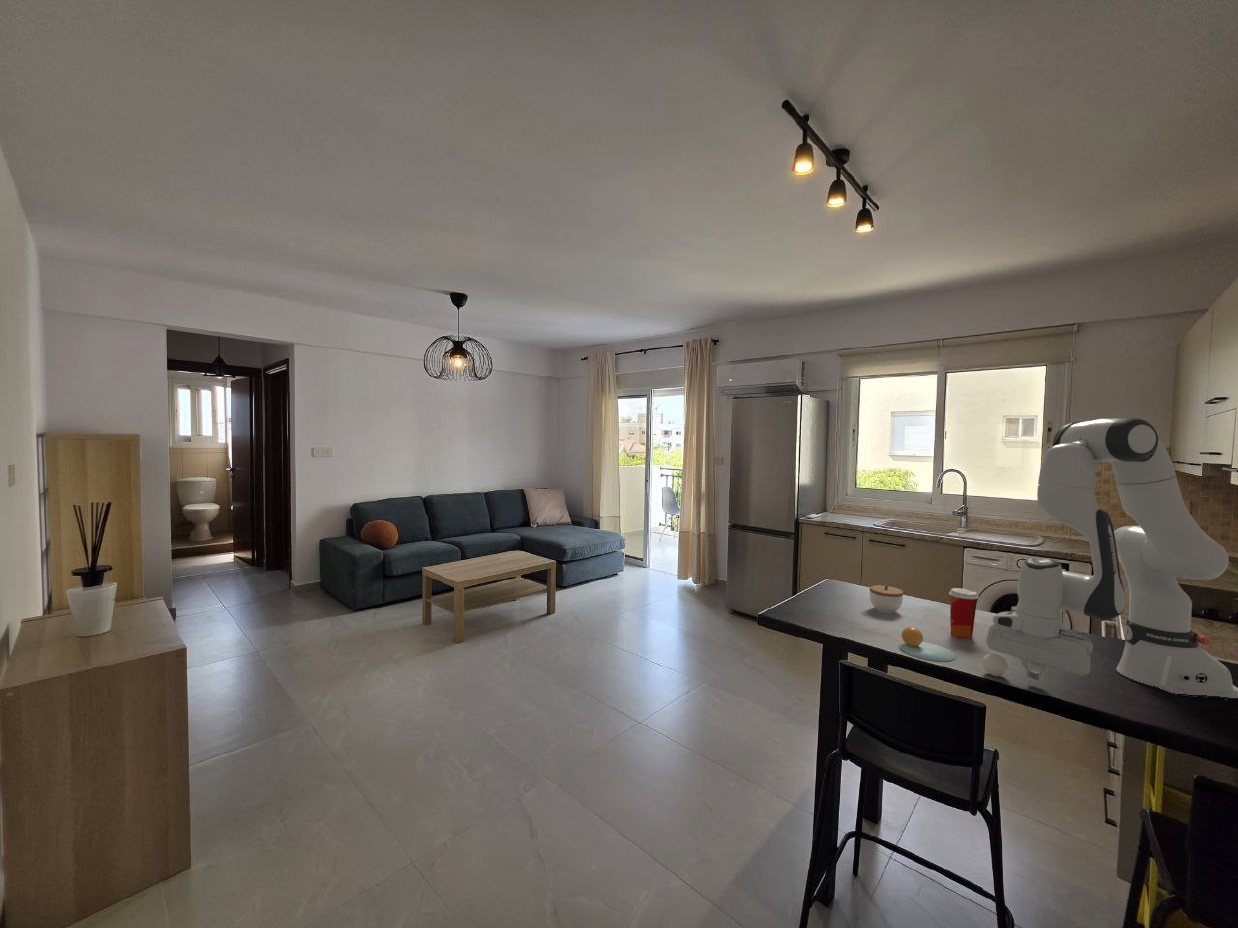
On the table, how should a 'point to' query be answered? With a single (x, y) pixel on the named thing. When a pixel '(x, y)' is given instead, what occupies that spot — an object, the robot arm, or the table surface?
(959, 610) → the paper cup
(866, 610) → the table surface
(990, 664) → the cue ball
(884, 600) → the lidded jar
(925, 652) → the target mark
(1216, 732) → the table surface
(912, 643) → the object ball
